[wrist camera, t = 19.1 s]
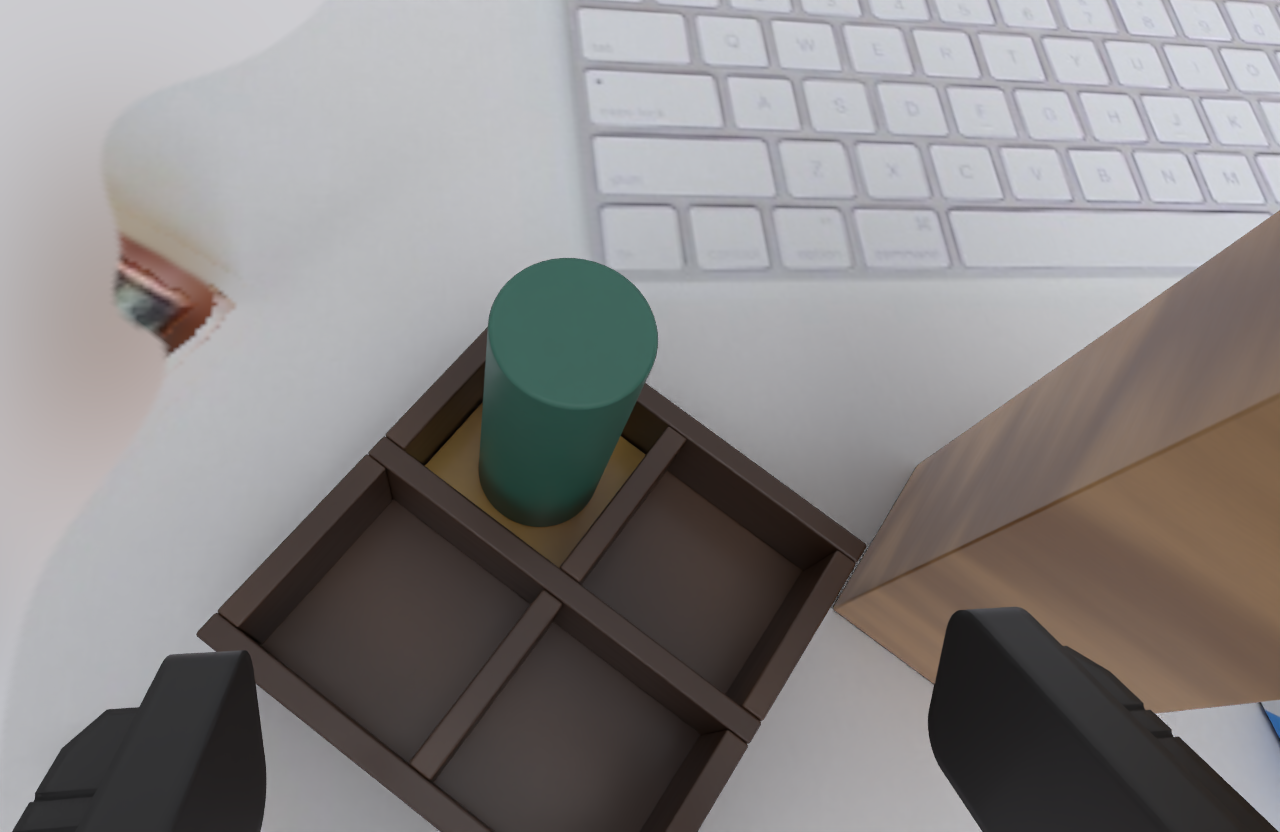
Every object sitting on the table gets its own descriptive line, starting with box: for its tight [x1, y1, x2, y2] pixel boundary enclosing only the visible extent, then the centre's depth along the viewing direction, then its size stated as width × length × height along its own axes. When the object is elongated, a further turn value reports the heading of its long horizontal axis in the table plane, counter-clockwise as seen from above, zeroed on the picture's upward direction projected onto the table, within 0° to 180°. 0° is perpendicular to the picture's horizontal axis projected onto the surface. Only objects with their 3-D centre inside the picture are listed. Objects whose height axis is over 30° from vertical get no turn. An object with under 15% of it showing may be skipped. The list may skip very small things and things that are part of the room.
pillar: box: [833, 211, 1280, 714], centre depth 16 cm, size 6×6×22 cm
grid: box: [196, 327, 866, 832], centre depth 22 cm, size 11×11×3 cm
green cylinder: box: [479, 258, 658, 527], centre depth 20 cm, size 3×3×8 cm
